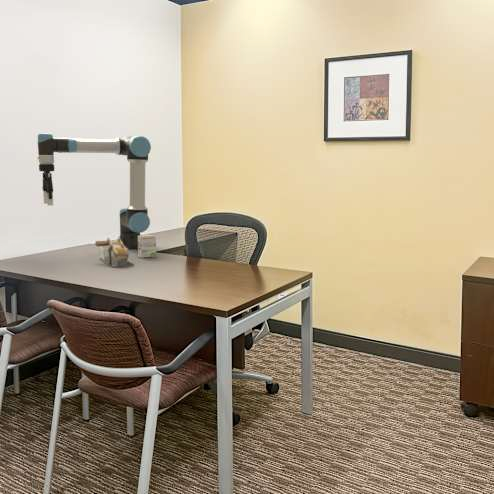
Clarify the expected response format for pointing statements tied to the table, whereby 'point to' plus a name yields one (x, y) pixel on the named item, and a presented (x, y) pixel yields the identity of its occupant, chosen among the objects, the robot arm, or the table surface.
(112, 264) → the stand
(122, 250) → the ball
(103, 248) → the white open box
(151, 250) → the ink box
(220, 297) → the table surface
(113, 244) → the lever
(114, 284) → the table surface
